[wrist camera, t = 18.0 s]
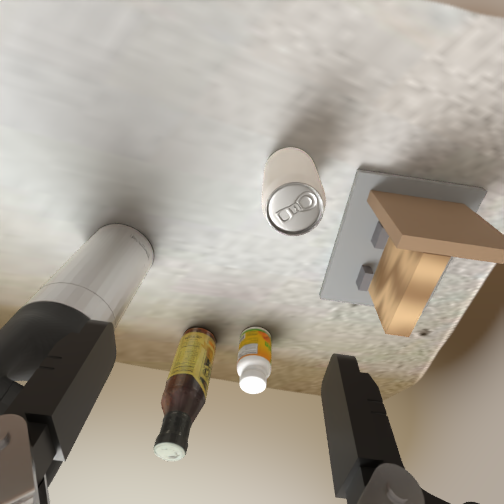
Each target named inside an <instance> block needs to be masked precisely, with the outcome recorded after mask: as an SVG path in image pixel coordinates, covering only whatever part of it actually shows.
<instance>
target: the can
mask: <svg viewBox="0 0 504 504" xmlns="http://www.w3.org/2000/svg"><path fill="white" fill-rule="evenodd" d="M325 206H326V197H325V192H324V189H323V186H322V183H321V180H320V178H319V175H318V172H317V169H316V167H315V164H314V162H313V160H312V159H311V157H310V156H309V155H308V154H307V153H306V152H304V151H303V150H301V149H298V148H294V147H287V148H283V149H280V150H278V151H276V152H275V153H273V154H272V155H271V156H270V158H269V159H268V160H267V162H266V165H265V168H264V175H263V187H262V210H263V213H264V216H265V218H266V219H267V221H268V222H269V224H270V225H271V226H272V227H273V228H274V229H275V230H276V231H278V232H279V233H281V234H284V235H288V236H299V235H303V234H306V233H308V232H310V231H311V230H313V229H314V228H315V227H316V226H317V225H318V224H319V222H320V221H321V219H322V216H323V213H324V210H325Z"/></svg>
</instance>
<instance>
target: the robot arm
mask: <svg viewBox="0 0 504 504" xmlns="http://www.w3.org/2000/svg"><path fill="white" fill-rule="evenodd" d="M153 259H154V254H153V249H152V247H151V245H150V243H149V241H148V240H147V239H146V238H145V236H144V235H143V234H141V233H140V232H139V231H137V230H136V229H134V228H132V227H129V226H126V225H122V224H110V225H106V226H104V227H102V228H100V229H99V230H98V231H97V232H96V233H95V234H94V235H93V236H92V237H91V238H90V239H89V240H88V241H87V242H86V243H85V244H84V245H83V246H82V247H81V248H80V249H79V250H78V251H77V252H76V253H75V254H74V255H73V256H72V257H71V258H70V259H69V260H68V261H67V262H66V263H65V264H64V265H63V266H62V267H61V268H60V269H59V270H58V271H57V272H56V273H55V274H54V275H53V276H52V277H51V278H50V279H49V280H48V281H47V282H46V283H45V284H44V285H43V286H42V287H41V288H40V289H39V290H38V291H37V292H36V293H35V294H34V295H33V296H32V297H31V298H30V299H29V300H28V301H27V302H26V303H25V304H24V305H23V306H22V307H21V308H20V309H19V310H18V311H17V313H16V314H15V315H14V316H13V317H12V318H11V319H10V320H9V321H8V322H7V323H6V324H5V325H4V326H3V327H2V328H1V330H0V504H50V501H49V493H48V487H49V485H50V483H51V482H52V480H53V478H54V476H55V475H56V473H57V471H58V469H59V467H60V466H61V464H62V462H63V461H66V459H67V457H68V455H69V453H70V451H71V449H72V447H73V445H74V443H75V441H76V439H77V437H78V435H79V433H80V431H81V429H82V427H83V425H84V423H85V421H86V419H87V418H88V415H89V414H90V412H91V409H92V408H93V406H94V404H95V402H96V400H97V398H98V396H99V394H100V392H101V390H102V388H103V386H104V384H105V382H106V380H107V378H108V376H109V374H110V372H111V370H112V368H113V366H114V363H115V359H116V344H115V335H114V330H115V328H116V326H117V325H118V323H119V321H120V320H121V318H122V316H123V314H124V313H125V311H126V309H127V307H128V306H129V304H130V302H131V300H132V299H133V297H134V295H135V294H136V292H137V290H138V288H139V287H140V285H141V283H142V282H143V280H144V278H145V276H146V275H147V273H148V271H149V269H150V268H151V266H152V263H153ZM15 381H28V382H27V383H26V385H25V386H22V385H20V384H18V383H17V382H15ZM321 397H322V405H323V411H324V419H325V426H326V433H327V440H328V447H329V455H330V461H331V469H332V475H333V483H334V490H335V497H338V498H346V499H347V504H450V503H448V502H446V501H444V500H441V499H439V498H437V497H435V496H433V495H431V494H429V493H428V492H426V491H425V490H423V489H422V488H421V487H420V486H419V484H418V482H417V481H416V480H415V478H414V477H413V476H412V475H411V474H410V473H409V472H408V471H406V470H405V468H404V466H403V463H402V461H401V458H400V455H399V451H398V448H397V445H396V442H395V439H394V435H393V432H392V429H391V426H390V423H389V420H388V417H387V416H386V410H385V407H384V404H383V403H382V402H383V400H382V397H381V394H380V391H379V388H378V386H377V385H376V383H375V382H374V380H373V379H372V378H371V376H370V375H369V374H368V373H361V372H360V370H359V367H358V363H357V360H356V358H355V357H354V356H348V355H341V354H333V355H332V357H331V359H330V362H329V365H328V367H327V370H326V373H325V375H324V378H323V381H322V387H321ZM464 504H478V503H475V502H466V503H464Z"/></svg>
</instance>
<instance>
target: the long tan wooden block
mask: <svg viewBox="0 0 504 504" xmlns="http://www.w3.org/2000/svg"><path fill="white" fill-rule="evenodd" d="M450 258H451V256H446V255H439V254H432V253H425V252H418V251H411V250H404V249H397V248H396V246H395V245H394V243H393V242H392V240H391V238H390V237H389V238H388V241H387V243H386V246H385V248H384V251H383V253H382V256H381V258H380V261H379V263H378V266H377V268H376V271H375V274H374V276H373V279H372V281H371V284H370V286H369V289H368V291H369V294H370V296H371V299H372V301H373V304H374V306H375V309H376V311H377V314H378V316H379V319H380V321H381V324H382V326H383V329H384V331H385V334H391V335H398V336H405V337H409V336H410V334H411V332H412V330H413V328H414V326H415V325H416V323H417V321H418V319H419V317H420V315H421V313H422V311H423V309H424V307H425V305H426V304H427V302H428V300H429V298H430V296H431V294H432V292H433V290H434V288H435V286H436V285H437V283H438V281H439V279H440V277H441V275H442V273H443V271H444V269H445V267H446V265H447V264H448V262H449V260H450Z"/></svg>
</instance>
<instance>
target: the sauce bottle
mask: <svg viewBox="0 0 504 504" xmlns="http://www.w3.org/2000/svg"><path fill="white" fill-rule="evenodd" d="M215 350H216V342H215V337H214V335H213V334H212V333H211V332H210V331H208V330H206V329H204V328H191V329H188V330H187V331H186V332H185V333H184V335H183V337H182V338H181V340H180V343H179V346H178V349H177V352H176V355H175V357H174V361H173V364H172V367H171V369H170V373H169V376H168V378H167V381H166V387H165V390H164V393H163V396H162V401H161V405H162V409H163V412H164V419H163V424H162V428H161V431H160V434H159V435H158V437H157V439H156V442H155V445H154V453H155V454H156V455H157V456H158V457H160V458H161V459H163V460H167V461H177V460H180V459H182V458H183V457H184V456H185V455H186V451H187V447H188V443H187V442H188V436H189V431H190V428H191V425H192V423H193V422H194V420H195V418H196V417H197V415H198V413H199V412H200V410H201V408H202V407H203V405H204V404H205V400H206V396H207V390H208V385H209V380H210V375H211V370H212V365H213V360H214V355H215Z"/></svg>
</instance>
